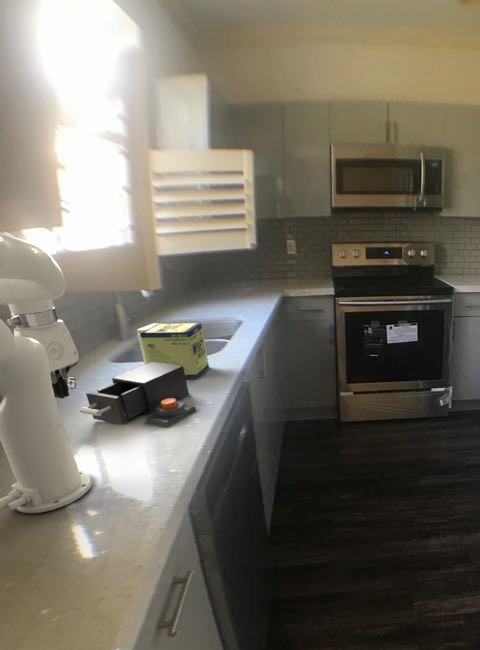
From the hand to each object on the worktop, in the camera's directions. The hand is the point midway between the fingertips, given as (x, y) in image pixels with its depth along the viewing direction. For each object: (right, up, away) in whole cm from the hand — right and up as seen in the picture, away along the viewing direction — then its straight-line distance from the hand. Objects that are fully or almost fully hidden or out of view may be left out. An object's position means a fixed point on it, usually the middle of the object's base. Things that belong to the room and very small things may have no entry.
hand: (61, 396), depth 105 cm
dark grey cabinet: (+9, -2, +25) cm, 26 cm away
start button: (+18, -3, +14) cm, 23 cm away
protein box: (+7, +6, +45) cm, 46 cm away
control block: (+18, -6, +15) cm, 24 cm away
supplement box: (-5, +10, +56) cm, 57 cm away
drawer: (+5, -5, +15) cm, 17 cm away
